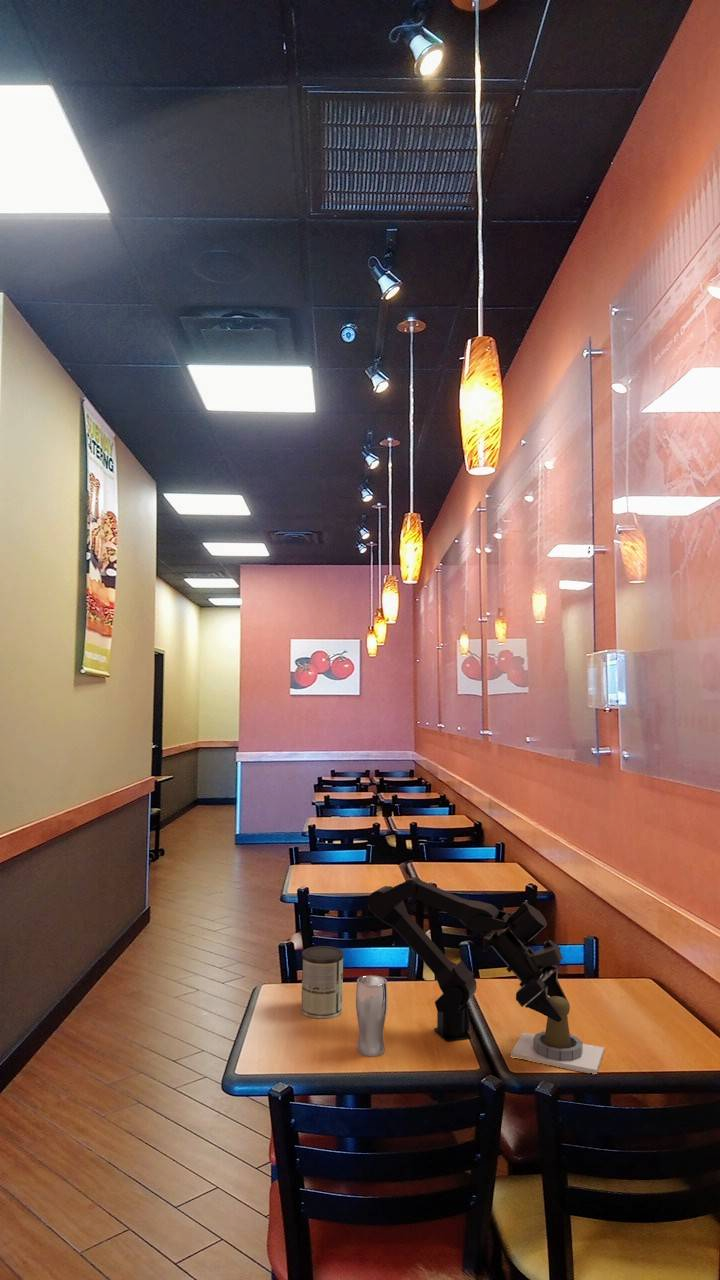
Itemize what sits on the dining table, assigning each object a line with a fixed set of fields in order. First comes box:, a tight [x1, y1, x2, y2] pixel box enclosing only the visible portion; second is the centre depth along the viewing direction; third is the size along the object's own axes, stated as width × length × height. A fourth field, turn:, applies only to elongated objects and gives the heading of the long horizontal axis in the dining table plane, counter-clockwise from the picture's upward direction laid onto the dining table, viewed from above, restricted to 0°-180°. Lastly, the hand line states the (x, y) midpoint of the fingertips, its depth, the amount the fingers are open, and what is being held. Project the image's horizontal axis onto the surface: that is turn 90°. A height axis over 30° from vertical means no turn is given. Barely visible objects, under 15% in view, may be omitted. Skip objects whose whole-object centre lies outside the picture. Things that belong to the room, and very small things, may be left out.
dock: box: [510, 1030, 605, 1075], centre depth 177 cm, size 18×12×3 cm, turn 66°
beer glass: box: [355, 975, 389, 1058], centre depth 177 cm, size 7×7×15 cm
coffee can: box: [300, 945, 345, 1020], centre depth 200 cm, size 10×10×14 cm
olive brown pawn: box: [544, 996, 571, 1049], centre depth 177 cm, size 6×6×11 cm
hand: (564, 1013), depth 177 cm, fingers open, 9 cm apart
